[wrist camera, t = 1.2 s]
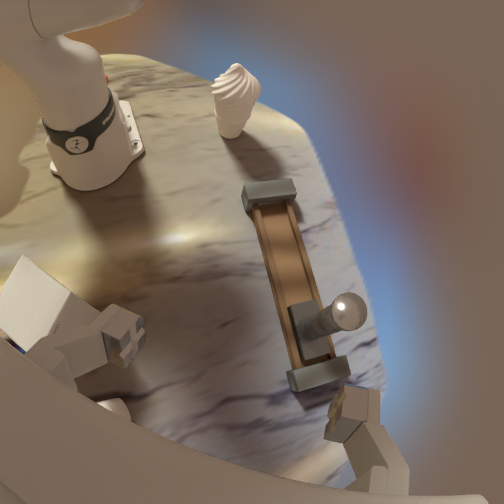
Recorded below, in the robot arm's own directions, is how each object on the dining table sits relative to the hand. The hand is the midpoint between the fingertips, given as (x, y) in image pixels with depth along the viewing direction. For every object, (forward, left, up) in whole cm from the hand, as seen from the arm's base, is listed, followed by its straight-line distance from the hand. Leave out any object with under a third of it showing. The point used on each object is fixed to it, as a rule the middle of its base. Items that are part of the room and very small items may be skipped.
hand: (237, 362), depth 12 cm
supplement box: (-9, -20, -34) cm, 40 cm away
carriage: (-2, +14, -32) cm, 35 cm away
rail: (-10, +14, -34) cm, 38 cm away
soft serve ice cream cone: (-41, +11, -34) cm, 54 cm away
